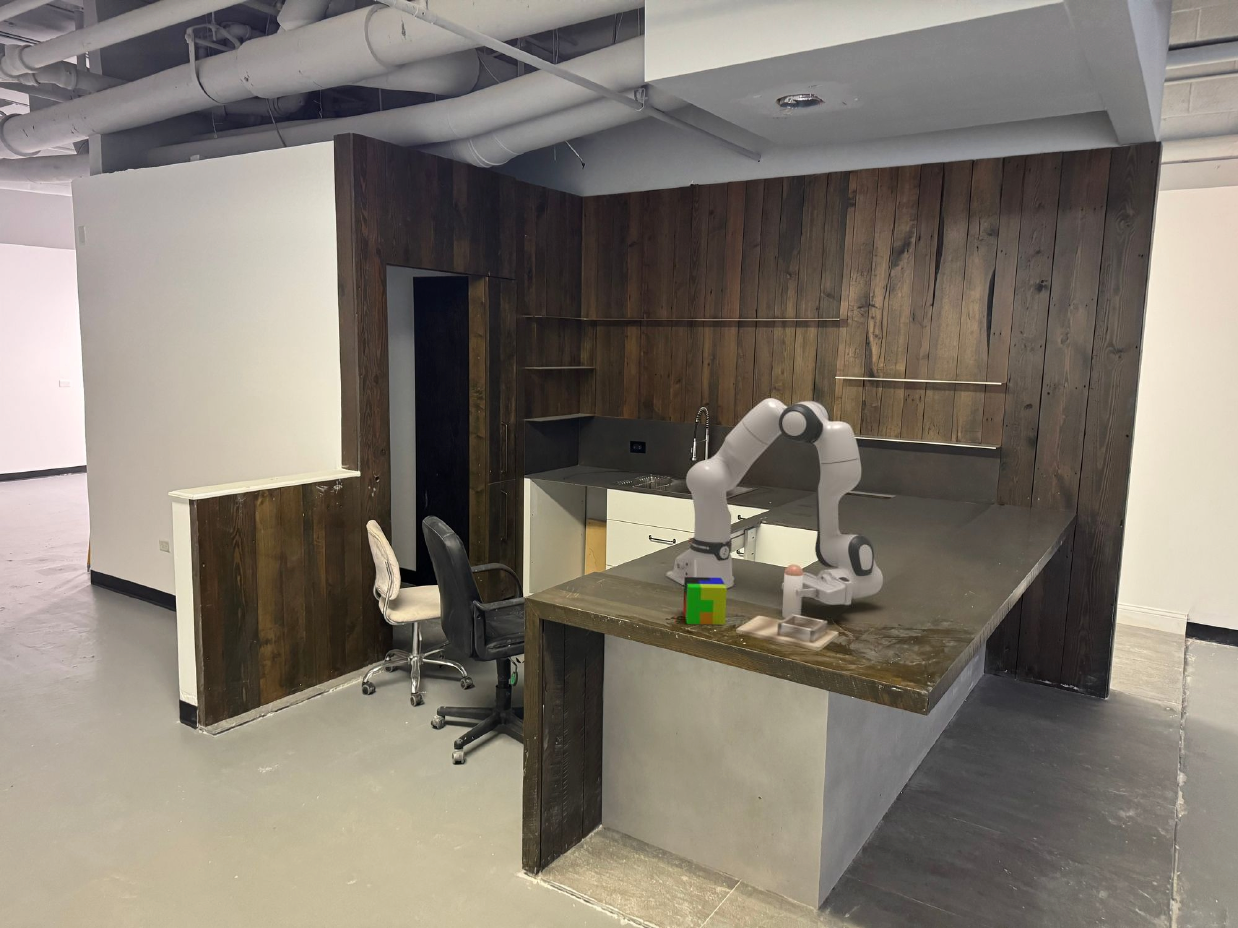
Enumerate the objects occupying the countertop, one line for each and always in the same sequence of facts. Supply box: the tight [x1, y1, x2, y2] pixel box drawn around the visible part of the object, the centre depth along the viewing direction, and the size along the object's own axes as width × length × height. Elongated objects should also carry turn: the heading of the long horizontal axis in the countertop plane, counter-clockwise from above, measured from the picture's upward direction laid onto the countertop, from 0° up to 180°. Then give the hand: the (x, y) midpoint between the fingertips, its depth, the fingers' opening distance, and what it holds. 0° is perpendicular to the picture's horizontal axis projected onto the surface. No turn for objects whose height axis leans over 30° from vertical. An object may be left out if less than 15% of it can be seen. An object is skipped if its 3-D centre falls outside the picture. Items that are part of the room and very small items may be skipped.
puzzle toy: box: [682, 577, 728, 626], centre depth 229 cm, size 10×10×10 cm
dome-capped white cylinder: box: [781, 563, 804, 619], centre depth 232 cm, size 5×5×14 cm
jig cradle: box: [735, 614, 839, 652], centre depth 218 cm, size 22×14×4 cm, turn 57°
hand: (790, 589), depth 232 cm, fingers closed on dome-capped white cylinder, 5 cm apart
